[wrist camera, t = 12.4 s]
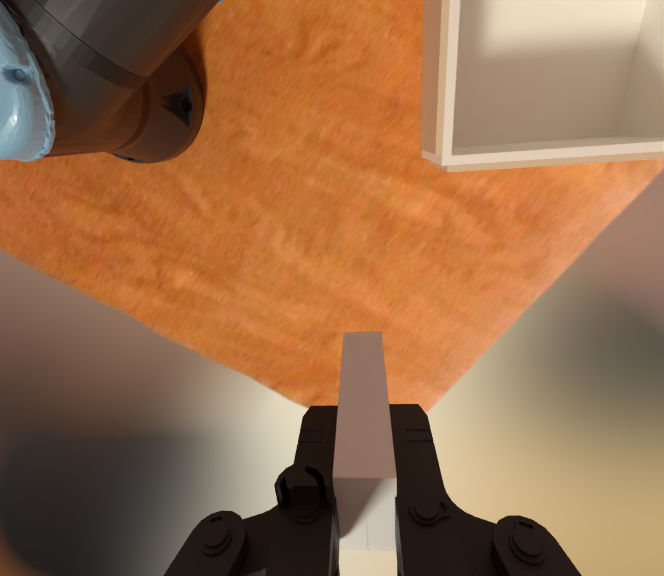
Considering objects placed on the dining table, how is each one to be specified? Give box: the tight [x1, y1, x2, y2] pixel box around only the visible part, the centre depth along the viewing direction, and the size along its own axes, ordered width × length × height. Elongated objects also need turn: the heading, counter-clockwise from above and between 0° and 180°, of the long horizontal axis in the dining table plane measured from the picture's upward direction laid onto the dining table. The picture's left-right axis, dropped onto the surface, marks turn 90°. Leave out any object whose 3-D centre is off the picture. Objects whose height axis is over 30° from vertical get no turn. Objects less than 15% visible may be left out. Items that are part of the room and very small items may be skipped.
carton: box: [420, 0, 664, 172], centre depth 33 cm, size 19×23×12 cm
